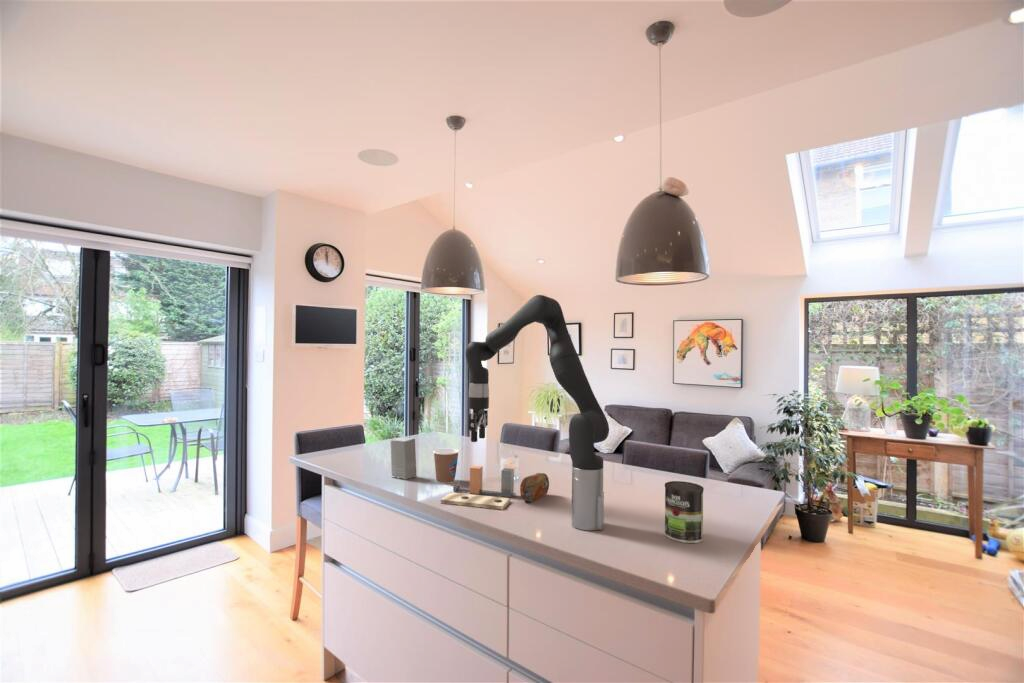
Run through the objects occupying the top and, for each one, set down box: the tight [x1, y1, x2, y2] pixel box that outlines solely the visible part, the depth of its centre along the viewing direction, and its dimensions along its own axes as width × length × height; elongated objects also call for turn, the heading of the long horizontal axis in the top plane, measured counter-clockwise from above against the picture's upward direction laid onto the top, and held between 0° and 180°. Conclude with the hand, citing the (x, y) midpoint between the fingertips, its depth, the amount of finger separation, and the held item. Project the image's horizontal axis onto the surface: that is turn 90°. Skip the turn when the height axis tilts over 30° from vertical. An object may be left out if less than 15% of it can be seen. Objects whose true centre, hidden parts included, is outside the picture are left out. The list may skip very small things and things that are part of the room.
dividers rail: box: [452, 467, 517, 499], centre depth 168 cm, size 23×4×9 cm, turn 74°
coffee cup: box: [433, 448, 460, 484], centre depth 185 cm, size 10×10×12 cm
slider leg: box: [469, 465, 484, 495], centre depth 169 cm, size 4×4×9 cm
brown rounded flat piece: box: [519, 472, 550, 503], centre depth 163 cm, size 15×3×8 cm, turn 143°
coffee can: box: [664, 480, 705, 544], centre depth 130 cm, size 10×10×14 cm
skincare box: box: [390, 437, 417, 480], centre depth 190 cm, size 8×7×16 cm
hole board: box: [440, 492, 511, 511], centre depth 158 cm, size 22×9×1 cm, turn 74°
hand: (478, 440), depth 170 cm, fingers open, 8 cm apart
